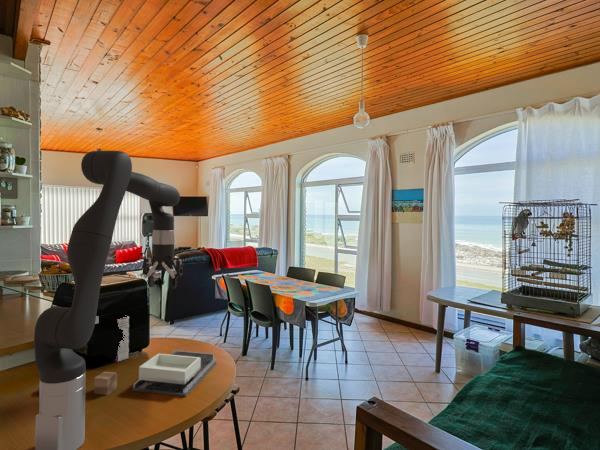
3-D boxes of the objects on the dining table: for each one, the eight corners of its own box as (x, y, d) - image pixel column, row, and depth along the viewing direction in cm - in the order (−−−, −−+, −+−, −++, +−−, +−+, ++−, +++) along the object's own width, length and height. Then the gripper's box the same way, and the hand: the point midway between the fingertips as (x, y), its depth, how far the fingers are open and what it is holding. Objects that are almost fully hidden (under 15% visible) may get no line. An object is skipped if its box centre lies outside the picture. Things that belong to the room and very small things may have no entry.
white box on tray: (184, 389, 114) (185, 371, 114) (138, 384, 116) (138, 367, 116) (200, 373, 125) (200, 357, 125) (158, 369, 128) (158, 353, 128)
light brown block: (107, 395, 112) (107, 379, 112) (94, 393, 113) (94, 377, 113) (116, 388, 116) (117, 372, 116) (104, 386, 117) (104, 371, 117)
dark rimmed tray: (185, 396, 112) (186, 383, 112) (132, 390, 115) (132, 378, 115) (216, 364, 137) (216, 353, 137) (171, 359, 139) (171, 349, 139)
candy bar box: (100, 355, 141) (100, 313, 141) (112, 351, 146) (113, 311, 145) (117, 362, 135) (117, 319, 135) (129, 358, 140) (130, 316, 139)
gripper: (138, 242, 128) (138, 288, 129) (176, 244, 126) (175, 291, 126) (150, 241, 135) (149, 284, 136) (186, 242, 133) (185, 286, 134)
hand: (162, 287), depth 131 cm, fingers open, 8 cm apart
